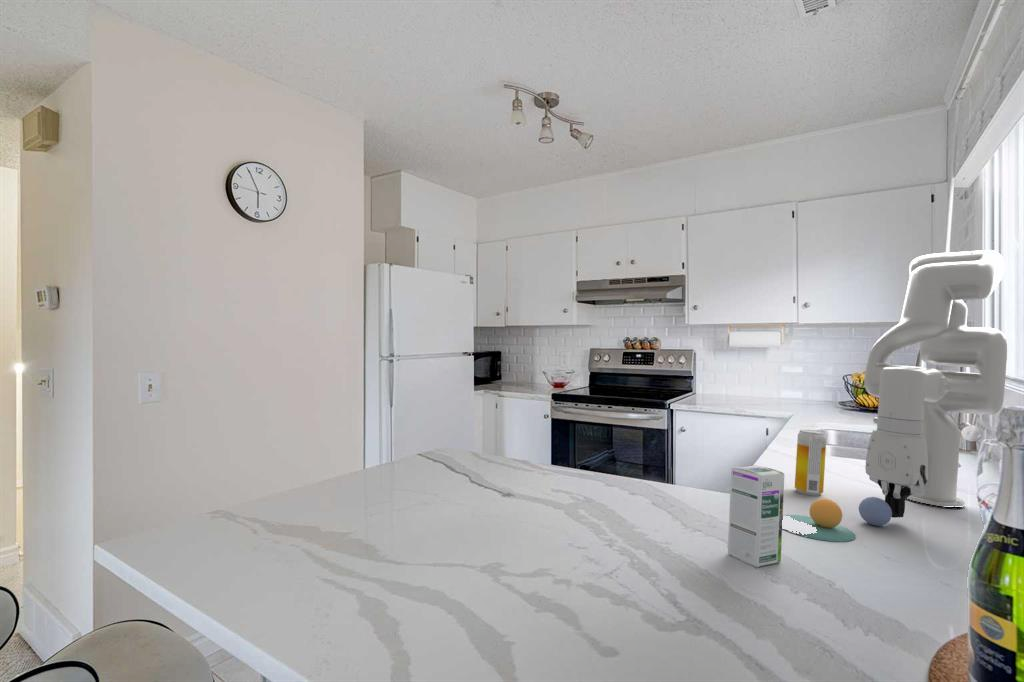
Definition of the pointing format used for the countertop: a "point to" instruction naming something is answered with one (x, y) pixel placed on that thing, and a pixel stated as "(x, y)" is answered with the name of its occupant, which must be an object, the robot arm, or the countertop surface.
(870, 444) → the robot arm
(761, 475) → the syrup box
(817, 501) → the orange ball
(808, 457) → the drink can
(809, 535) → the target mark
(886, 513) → the blue ball
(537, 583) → the countertop surface
